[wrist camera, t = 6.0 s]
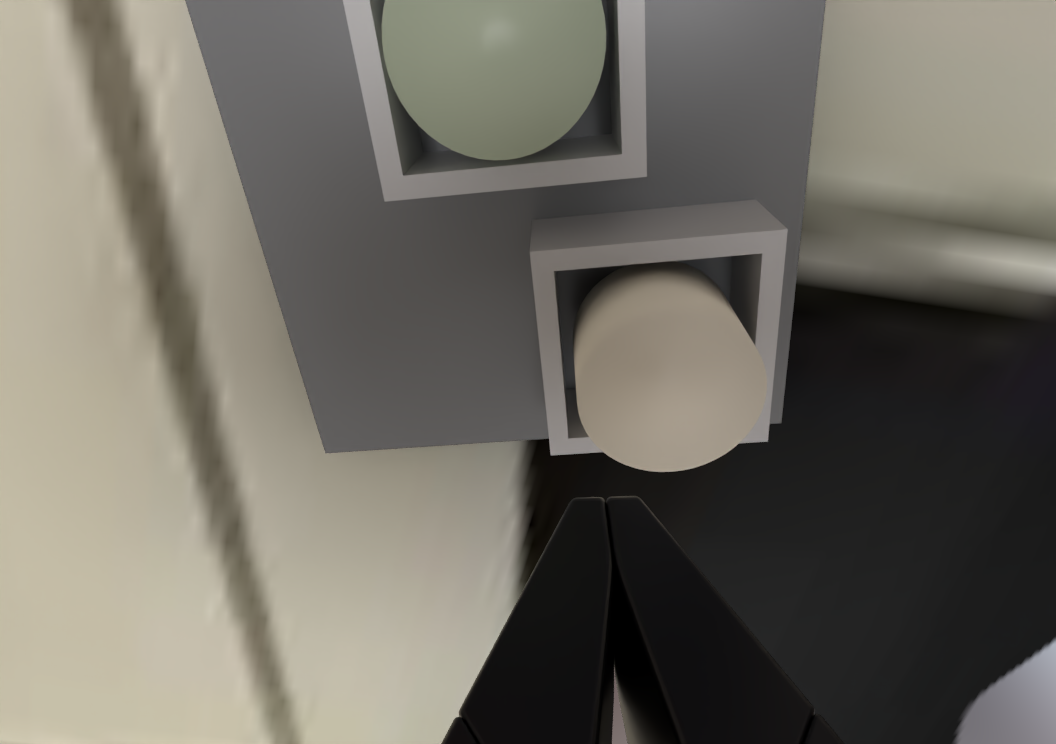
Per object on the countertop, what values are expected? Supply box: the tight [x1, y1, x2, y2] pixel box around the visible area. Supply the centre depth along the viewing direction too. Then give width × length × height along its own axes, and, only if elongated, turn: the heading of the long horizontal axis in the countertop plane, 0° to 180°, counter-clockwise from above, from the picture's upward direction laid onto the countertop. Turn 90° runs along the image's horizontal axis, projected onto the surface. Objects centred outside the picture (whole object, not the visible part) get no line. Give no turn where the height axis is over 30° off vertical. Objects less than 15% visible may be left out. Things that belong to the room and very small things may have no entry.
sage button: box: [382, 0, 606, 160], centre depth 13 cm, size 4×4×3 cm
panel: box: [185, 0, 826, 455], centre depth 14 cm, size 14×22×4 cm, turn 6°
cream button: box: [573, 261, 767, 472], centre depth 15 cm, size 4×4×3 cm
